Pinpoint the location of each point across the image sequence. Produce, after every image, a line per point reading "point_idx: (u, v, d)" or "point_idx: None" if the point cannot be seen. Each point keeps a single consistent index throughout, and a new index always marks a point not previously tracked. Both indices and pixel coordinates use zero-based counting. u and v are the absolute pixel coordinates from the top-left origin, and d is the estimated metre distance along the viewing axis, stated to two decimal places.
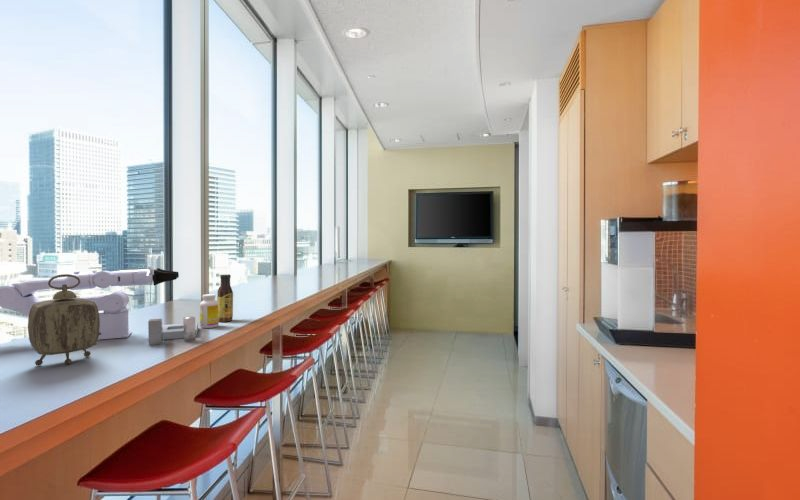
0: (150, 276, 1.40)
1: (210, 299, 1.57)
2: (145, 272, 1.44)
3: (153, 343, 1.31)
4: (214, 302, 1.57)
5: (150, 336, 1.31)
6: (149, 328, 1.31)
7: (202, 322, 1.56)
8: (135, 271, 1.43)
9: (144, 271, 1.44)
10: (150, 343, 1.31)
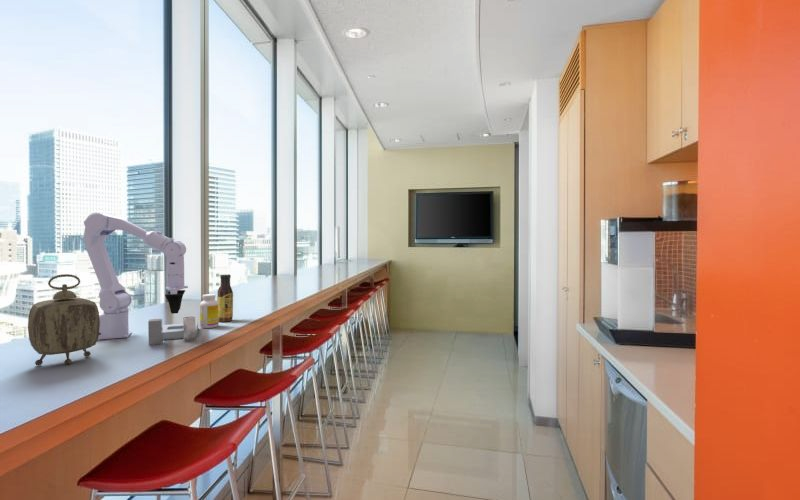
0: (175, 292, 1.39)
1: (210, 299, 1.57)
2: (180, 284, 1.44)
3: (153, 343, 1.31)
4: (214, 302, 1.57)
5: (150, 336, 1.31)
6: (149, 328, 1.31)
7: (202, 322, 1.56)
8: (182, 276, 1.45)
9: (181, 283, 1.45)
10: (150, 343, 1.31)
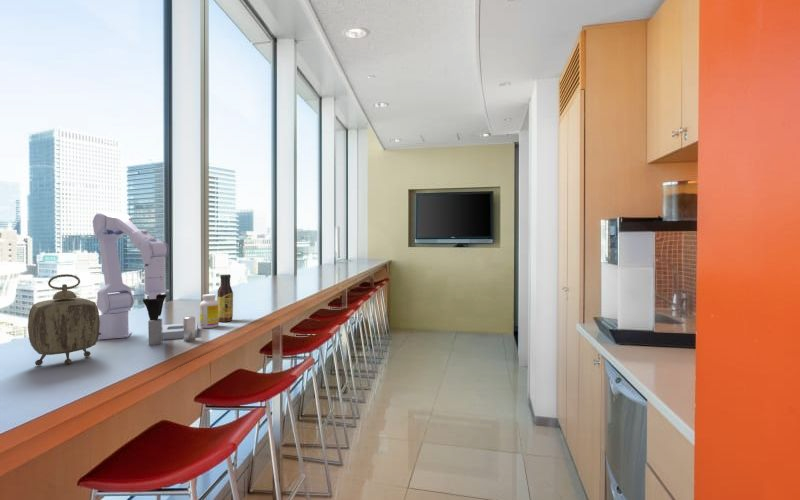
0: (154, 297, 1.26)
1: (210, 299, 1.57)
2: (160, 288, 1.31)
3: (153, 343, 1.31)
4: (214, 302, 1.57)
5: (150, 336, 1.31)
6: (149, 328, 1.31)
7: (202, 322, 1.56)
8: (162, 279, 1.32)
9: (162, 287, 1.32)
10: (150, 343, 1.31)
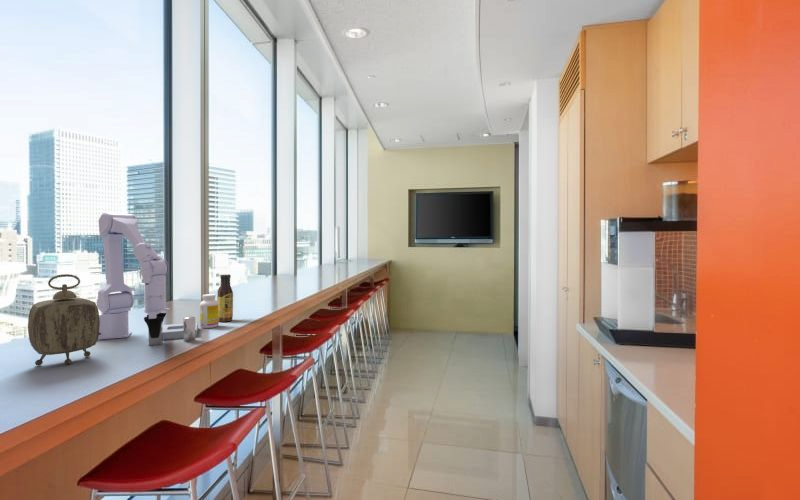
0: (154, 317, 1.26)
1: (210, 299, 1.57)
2: (160, 307, 1.32)
3: (153, 343, 1.31)
4: (214, 302, 1.57)
5: None
6: None
7: (202, 322, 1.56)
8: (162, 297, 1.32)
9: (162, 306, 1.32)
10: (150, 343, 1.31)
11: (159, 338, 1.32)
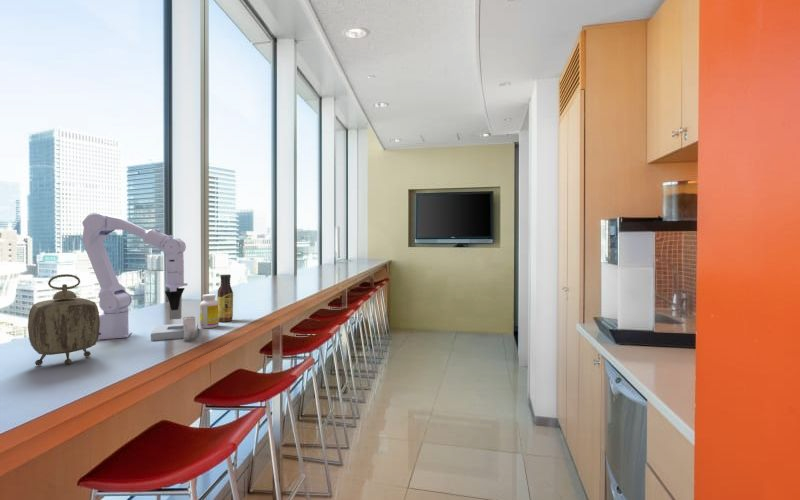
0: (175, 290, 1.39)
1: (210, 299, 1.57)
2: (180, 282, 1.44)
3: (173, 317, 1.44)
4: (214, 302, 1.57)
5: (171, 311, 1.43)
6: None
7: (202, 322, 1.56)
8: (181, 273, 1.45)
9: (181, 281, 1.44)
10: (171, 317, 1.43)
11: (179, 313, 1.44)
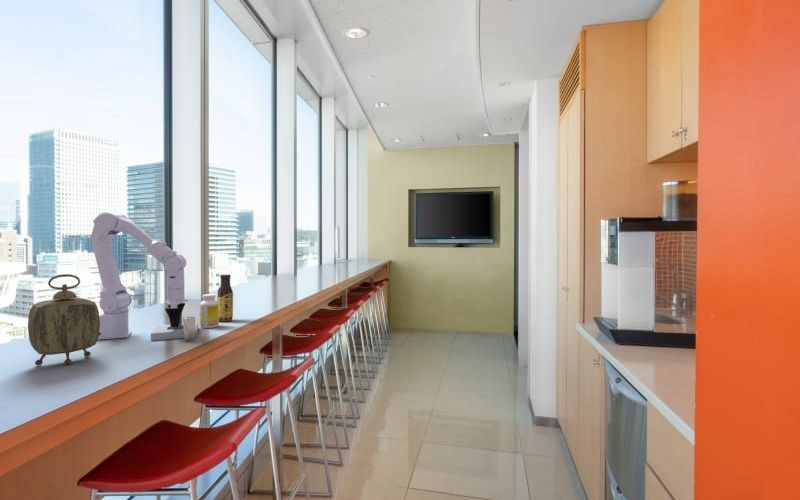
0: (175, 307, 1.39)
1: (210, 299, 1.57)
2: (180, 298, 1.44)
3: None
4: (214, 302, 1.57)
5: None
6: None
7: (202, 322, 1.56)
8: (182, 289, 1.45)
9: (182, 297, 1.45)
10: None
11: None
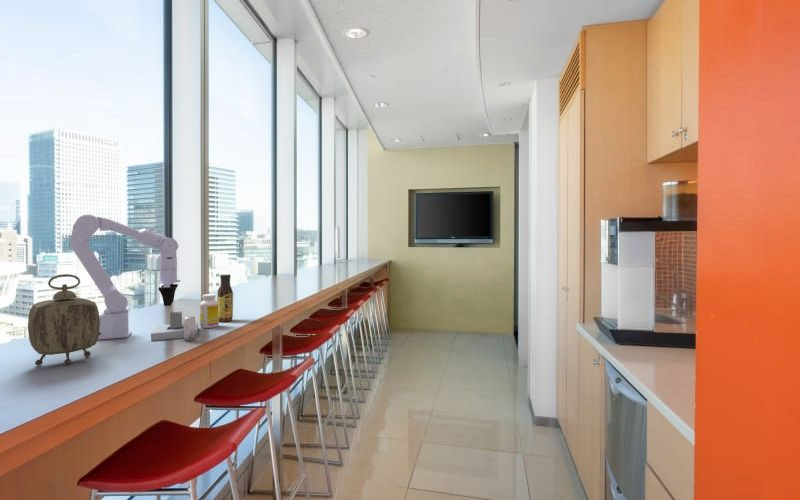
0: (168, 286, 1.46)
1: (210, 299, 1.57)
2: (173, 278, 1.51)
3: None
4: (214, 302, 1.57)
5: (172, 327, 1.44)
6: (171, 320, 1.44)
7: (202, 322, 1.56)
8: (175, 270, 1.52)
9: (174, 277, 1.52)
10: None
11: None
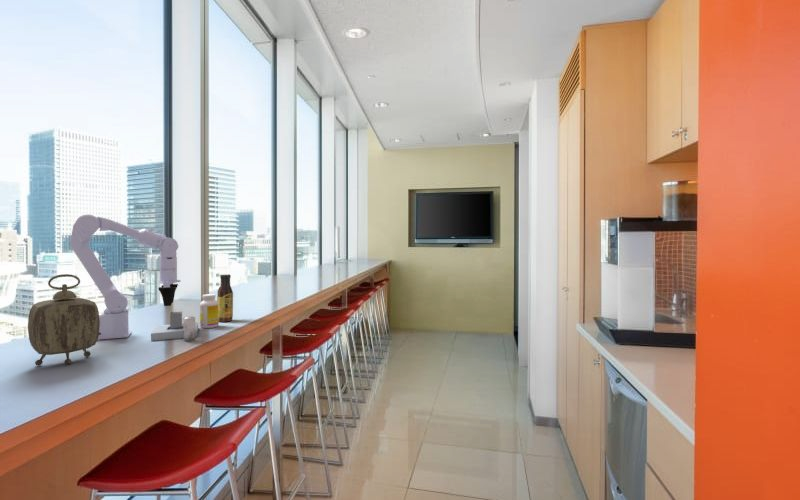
0: (168, 286, 1.46)
1: (210, 299, 1.57)
2: (173, 278, 1.51)
3: None
4: (214, 302, 1.57)
5: (172, 327, 1.44)
6: (171, 320, 1.44)
7: (202, 322, 1.56)
8: (175, 270, 1.52)
9: (174, 277, 1.52)
10: None
11: None
